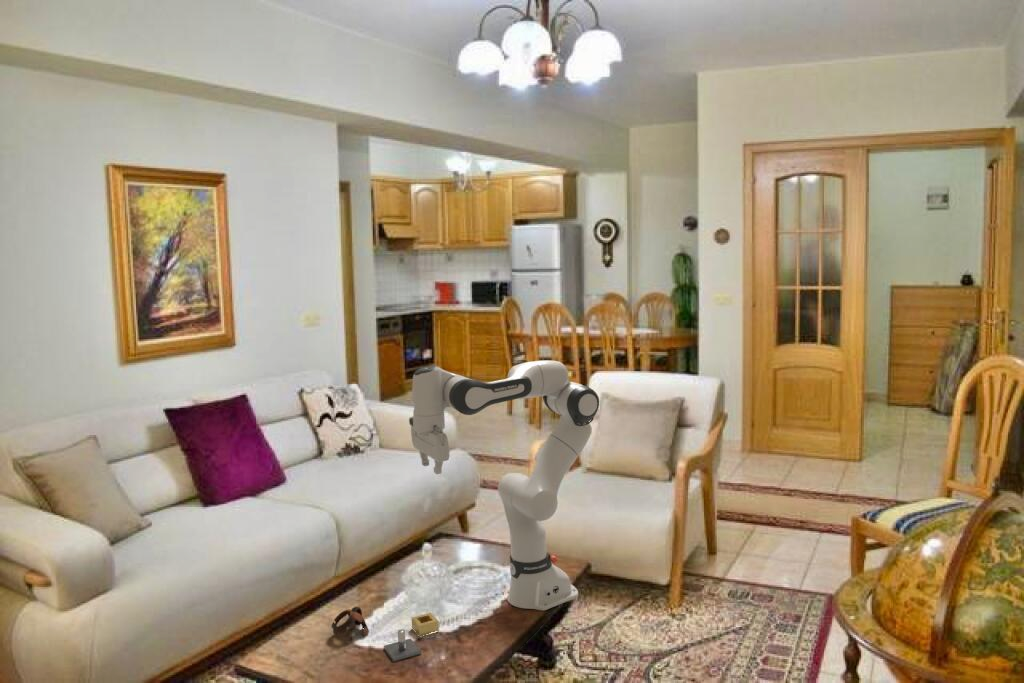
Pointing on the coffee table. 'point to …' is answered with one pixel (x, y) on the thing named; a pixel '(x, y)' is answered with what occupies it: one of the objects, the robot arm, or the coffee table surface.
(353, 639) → the coffee table surface
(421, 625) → the wooden square frame
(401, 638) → the post
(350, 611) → the pottery mug
